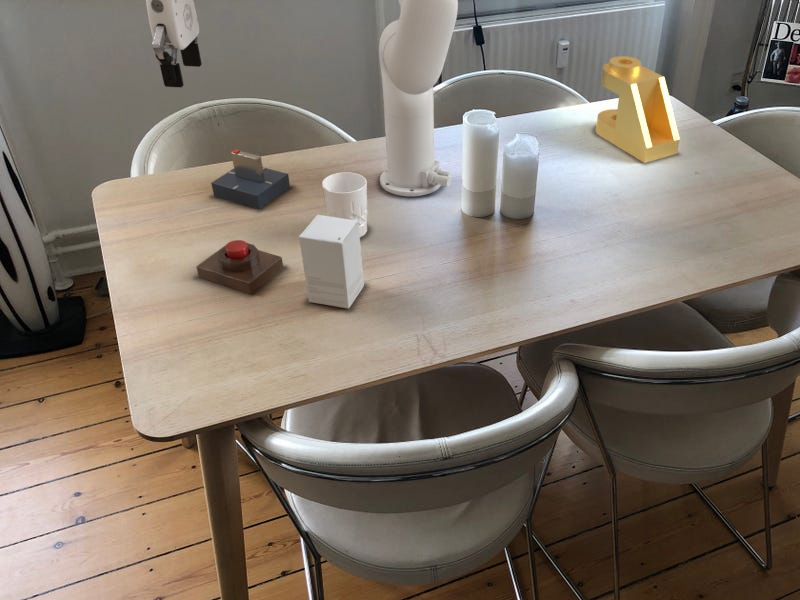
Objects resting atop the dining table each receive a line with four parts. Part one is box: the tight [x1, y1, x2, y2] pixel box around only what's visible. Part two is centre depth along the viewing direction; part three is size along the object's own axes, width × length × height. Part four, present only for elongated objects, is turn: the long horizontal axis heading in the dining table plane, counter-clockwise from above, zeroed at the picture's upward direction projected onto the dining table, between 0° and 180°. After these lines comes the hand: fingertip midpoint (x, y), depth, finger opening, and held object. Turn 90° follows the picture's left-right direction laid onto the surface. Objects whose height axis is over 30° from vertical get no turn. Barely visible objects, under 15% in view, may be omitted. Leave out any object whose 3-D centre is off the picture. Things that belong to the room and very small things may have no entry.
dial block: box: [210, 166, 291, 210], centre depth 164 cm, size 11×10×3 cm
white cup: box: [321, 171, 368, 238], centre depth 151 cm, size 8×8×10 cm
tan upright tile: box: [231, 148, 265, 183], centre depth 161 cm, size 6×1×5 cm, turn 65°
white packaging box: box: [298, 214, 365, 310], centre depth 134 cm, size 7×7×13 cm
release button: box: [224, 239, 249, 259], centre depth 140 cm, size 4×4×2 cm
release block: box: [196, 242, 284, 295], centre depth 142 cm, size 11×9×4 cm
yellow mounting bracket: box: [595, 55, 681, 164], centre depth 181 cm, size 20×9×16 cm, turn 31°
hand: (183, 75), depth 146 cm, fingers open, 9 cm apart
